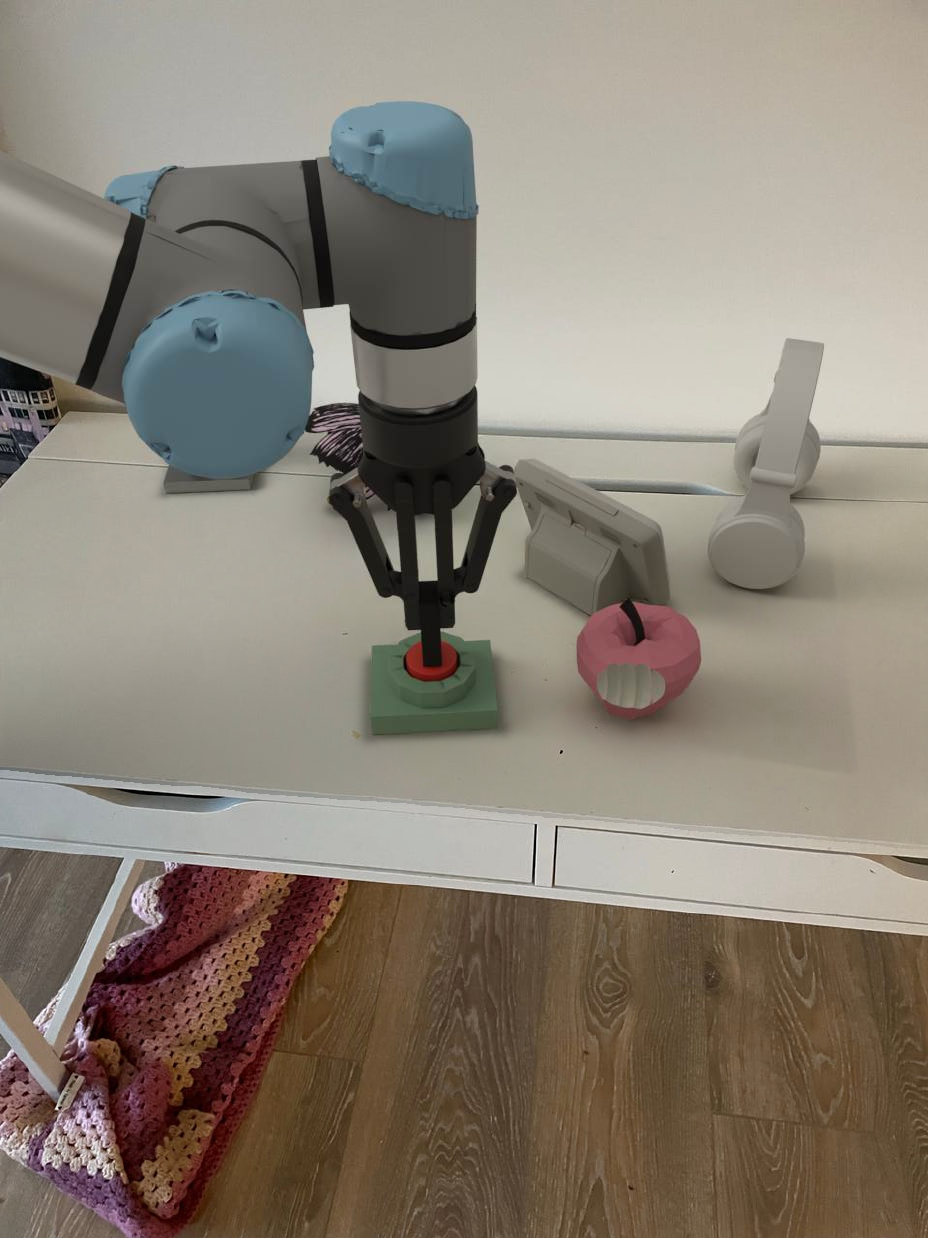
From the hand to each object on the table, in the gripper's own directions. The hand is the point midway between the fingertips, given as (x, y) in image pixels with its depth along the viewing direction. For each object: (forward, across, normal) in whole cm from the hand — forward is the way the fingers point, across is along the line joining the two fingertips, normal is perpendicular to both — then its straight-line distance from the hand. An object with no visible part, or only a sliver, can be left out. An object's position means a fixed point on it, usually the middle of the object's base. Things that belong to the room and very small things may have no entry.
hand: (432, 654), depth 74 cm
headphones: (+5, -33, -20) cm, 39 cm away
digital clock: (+5, -15, -14) cm, 21 cm away
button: (+2, 0, 0) cm, 2 cm away
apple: (+5, -16, +2) cm, 17 cm away
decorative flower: (+5, +5, -28) cm, 29 cm away
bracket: (+5, +23, -37) cm, 44 cm away
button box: (+5, 0, 0) cm, 5 cm away
